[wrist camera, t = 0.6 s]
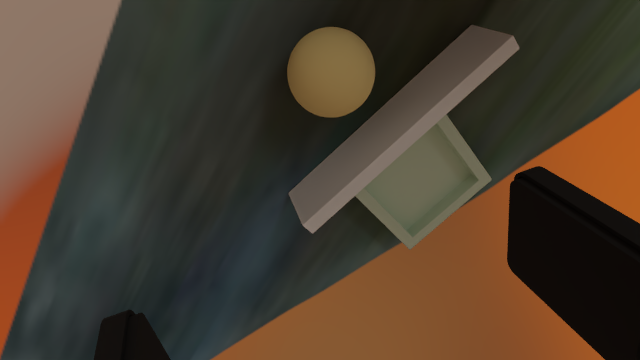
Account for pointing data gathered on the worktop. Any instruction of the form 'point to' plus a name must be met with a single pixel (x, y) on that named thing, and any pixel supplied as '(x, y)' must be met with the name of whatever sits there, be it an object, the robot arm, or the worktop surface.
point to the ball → (331, 72)
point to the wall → (400, 123)
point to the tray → (425, 184)
